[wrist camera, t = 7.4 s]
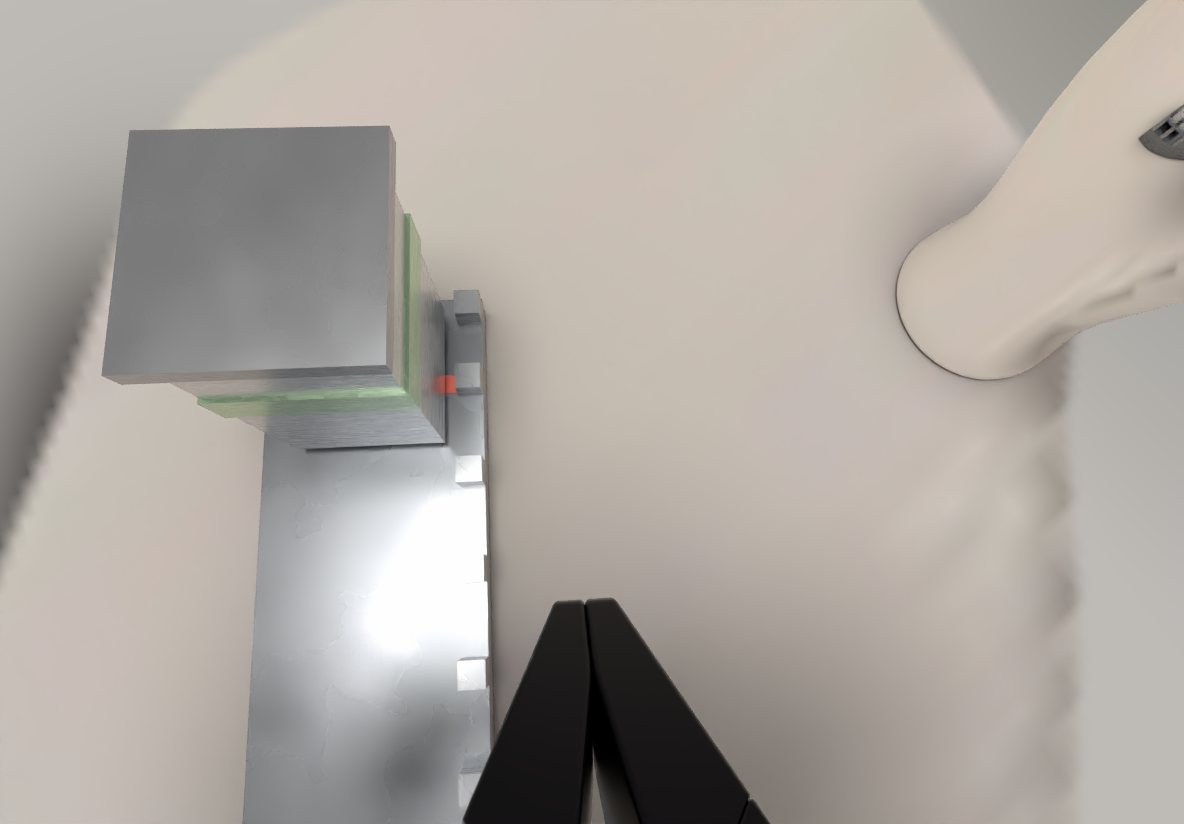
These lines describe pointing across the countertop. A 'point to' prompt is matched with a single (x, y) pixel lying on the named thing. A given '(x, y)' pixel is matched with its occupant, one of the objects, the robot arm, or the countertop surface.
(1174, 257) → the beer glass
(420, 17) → the countertop surface
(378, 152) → the column
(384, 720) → the track
